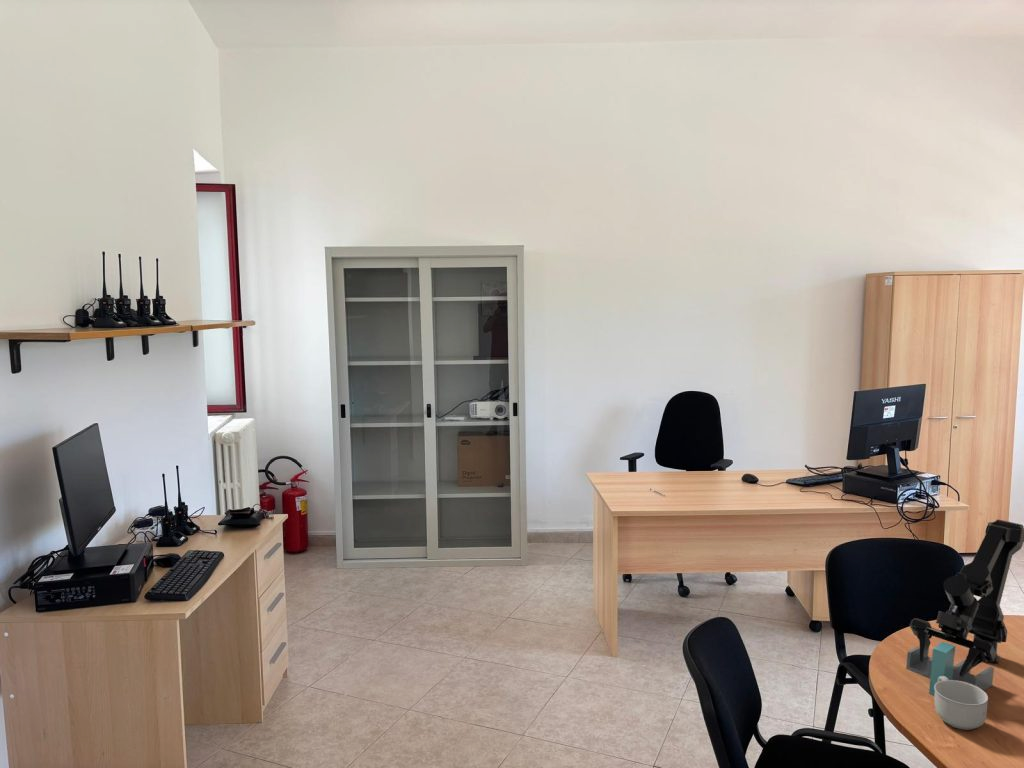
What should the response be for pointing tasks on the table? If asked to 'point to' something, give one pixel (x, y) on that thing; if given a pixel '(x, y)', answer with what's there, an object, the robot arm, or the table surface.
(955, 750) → the table surface
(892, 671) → the table surface
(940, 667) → the block
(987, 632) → the robot arm
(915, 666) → the rack
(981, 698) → the teacup
